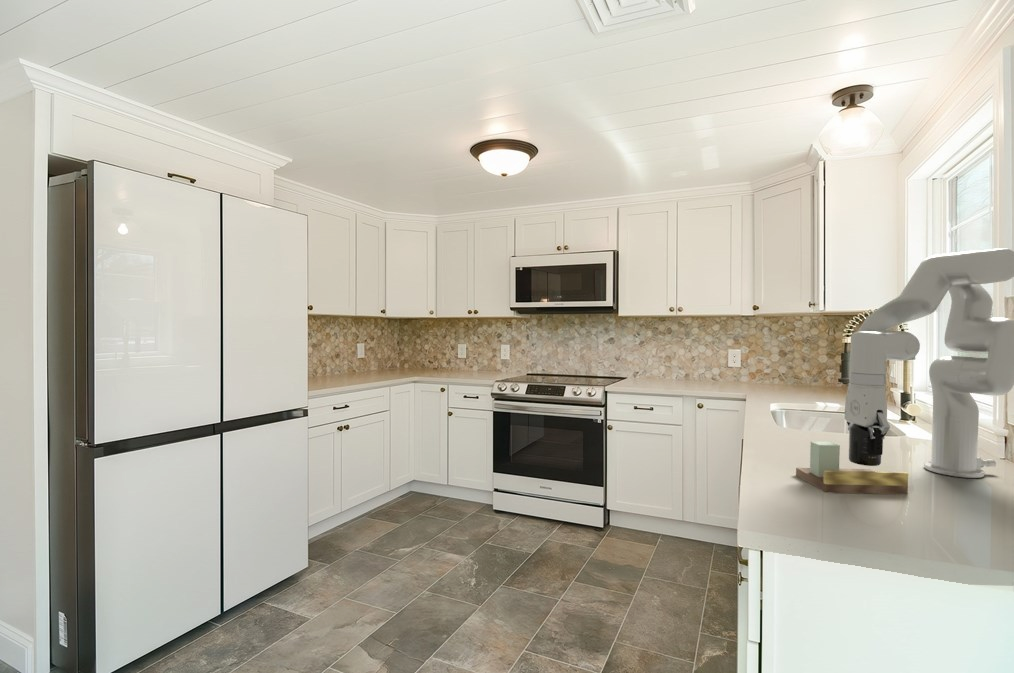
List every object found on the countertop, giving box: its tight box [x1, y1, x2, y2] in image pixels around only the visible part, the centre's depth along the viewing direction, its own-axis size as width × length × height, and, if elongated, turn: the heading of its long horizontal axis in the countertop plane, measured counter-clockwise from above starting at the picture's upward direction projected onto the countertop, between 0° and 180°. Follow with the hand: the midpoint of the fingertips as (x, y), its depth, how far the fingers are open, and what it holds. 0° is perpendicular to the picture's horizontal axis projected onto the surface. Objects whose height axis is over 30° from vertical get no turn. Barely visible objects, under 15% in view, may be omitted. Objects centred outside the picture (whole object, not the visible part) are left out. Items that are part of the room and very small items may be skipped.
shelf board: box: [795, 467, 909, 495], centre depth 132 cm, size 19×14×5 cm
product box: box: [809, 441, 841, 477], centre depth 133 cm, size 5×4×8 cm
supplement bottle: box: [848, 424, 882, 467], centre depth 132 cm, size 7×7×12 cm
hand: (865, 450), depth 132 cm, fingers closed on supplement bottle, 6 cm apart
